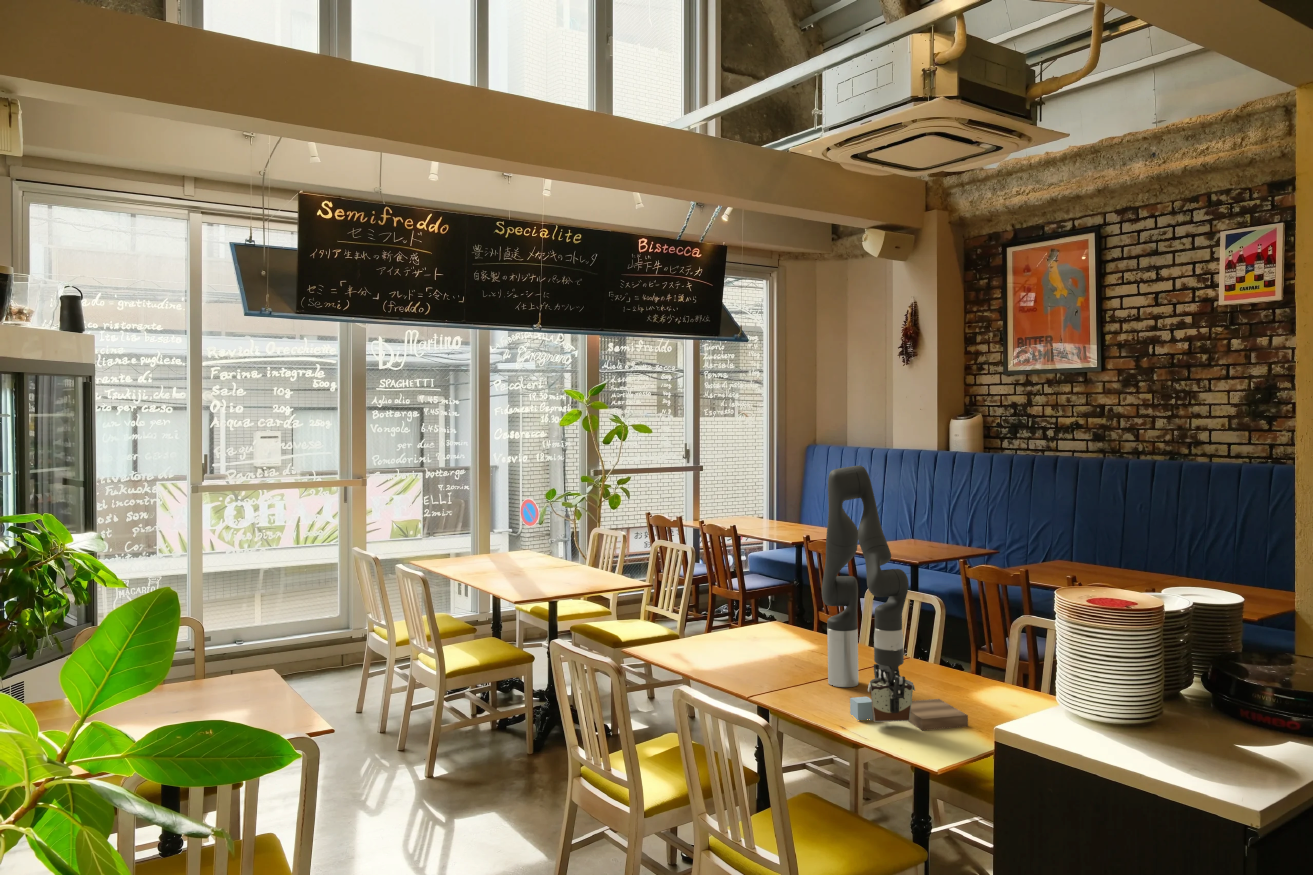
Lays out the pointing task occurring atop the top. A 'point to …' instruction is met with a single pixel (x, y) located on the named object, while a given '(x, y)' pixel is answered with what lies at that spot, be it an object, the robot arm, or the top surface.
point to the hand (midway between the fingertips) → (889, 708)
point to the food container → (882, 702)
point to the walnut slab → (936, 715)
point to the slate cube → (861, 708)
